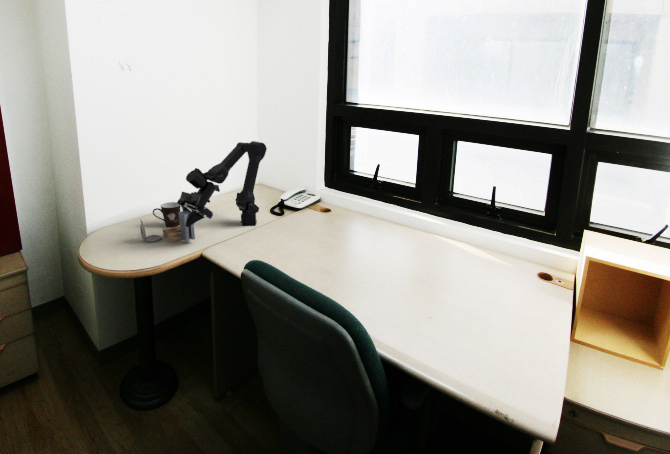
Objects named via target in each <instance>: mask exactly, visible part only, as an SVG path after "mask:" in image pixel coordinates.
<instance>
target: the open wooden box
mask: <svg viewBox="0 0 670 454" xmlns="http://www.w3.org/2000/svg"><path fill="white" fill-rule="evenodd" d="M162 236H163V238H164V239H165V240H166V242H168V243H169V244H172V243H177V241H178V242H182V239H181V230H180V225H179V226H177V227H171V228H170V227H165V228H162Z"/></svg>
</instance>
